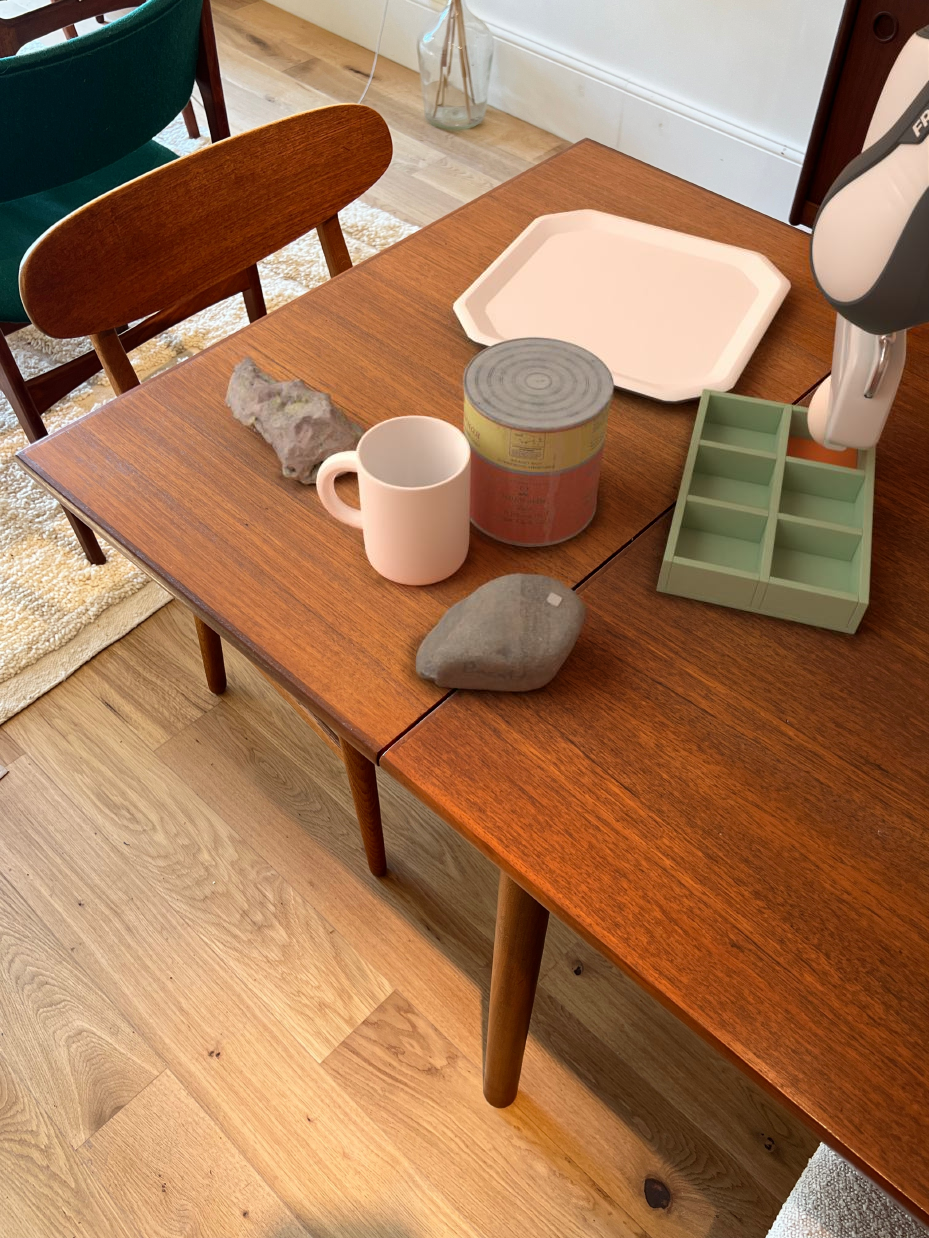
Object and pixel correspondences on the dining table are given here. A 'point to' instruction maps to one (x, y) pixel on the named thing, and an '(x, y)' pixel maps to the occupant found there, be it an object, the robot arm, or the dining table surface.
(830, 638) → the dining table surface
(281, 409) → the rock
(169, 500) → the dining table surface
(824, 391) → the egg
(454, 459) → the mug
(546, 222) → the plate
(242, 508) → the dining table surface
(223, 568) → the dining table surface
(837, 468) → the carton
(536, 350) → the canned food
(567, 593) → the stone
